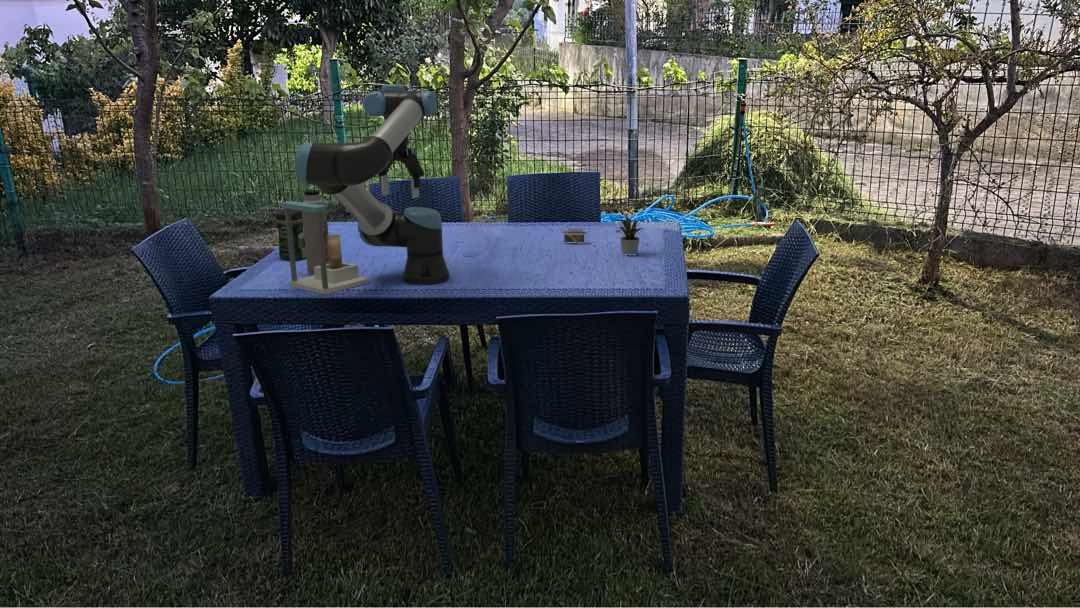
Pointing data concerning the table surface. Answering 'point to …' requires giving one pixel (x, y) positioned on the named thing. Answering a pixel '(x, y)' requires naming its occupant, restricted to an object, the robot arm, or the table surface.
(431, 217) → the robot arm
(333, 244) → the oak peg
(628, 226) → the house plant
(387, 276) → the table surface
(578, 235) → the platform
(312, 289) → the cream tall frame
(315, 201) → the thermos bottle
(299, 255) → the coffee jar
